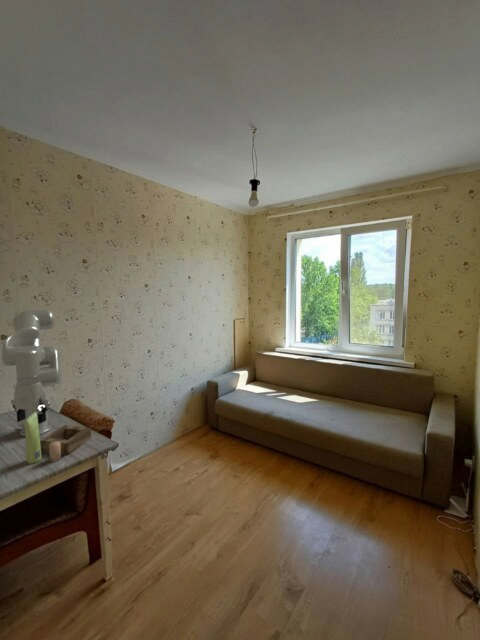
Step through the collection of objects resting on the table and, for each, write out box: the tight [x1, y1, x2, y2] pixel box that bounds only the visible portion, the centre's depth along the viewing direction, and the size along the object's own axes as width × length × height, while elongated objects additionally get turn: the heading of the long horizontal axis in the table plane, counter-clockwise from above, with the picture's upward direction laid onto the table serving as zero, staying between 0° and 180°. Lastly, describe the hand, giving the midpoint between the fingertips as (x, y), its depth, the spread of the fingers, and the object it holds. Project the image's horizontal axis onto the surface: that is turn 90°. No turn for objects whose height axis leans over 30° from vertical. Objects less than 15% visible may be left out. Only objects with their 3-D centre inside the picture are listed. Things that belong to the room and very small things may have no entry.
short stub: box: [48, 441, 62, 463], centre depth 119 cm, size 4×4×7 cm
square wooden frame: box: [40, 424, 92, 455], centre depth 130 cm, size 14×14×5 cm
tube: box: [25, 412, 42, 464], centre depth 117 cm, size 6×5×20 cm
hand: (31, 421), depth 116 cm, fingers open, 9 cm apart
